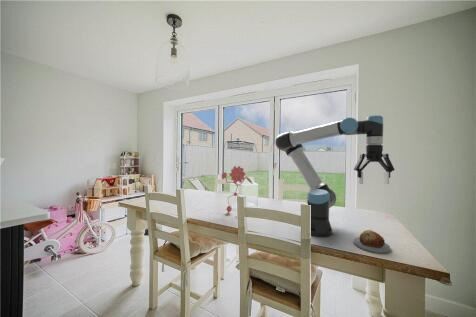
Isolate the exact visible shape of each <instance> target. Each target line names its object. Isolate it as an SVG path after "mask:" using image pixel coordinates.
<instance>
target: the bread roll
mask: <svg viewBox="0 0 476 317" xmlns="http://www.w3.org/2000/svg"><path fill="white" fill-rule="evenodd" d="M359 237H360V238H359V239H360V242H361V243H362V244H364V245H366V246H369V247H375V248H381V247H383V246H384V244H385V243H386V242H385V239H384V237H383V236H382V235H381V234H379V233H378V232H376V231H374V230H371V229H367V230H364V231H363V232H361V233H360V236H359ZM384 242H385V243H384Z"/></svg>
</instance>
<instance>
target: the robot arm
mask: <svg viewBox="0 0 476 317" xmlns="http://www.w3.org/2000/svg"><path fill="white" fill-rule="evenodd" d="M342 135H344V136H353V135H354V136H355V135H366V141H365V142H366V145H365V146H366V147H365V149H366V150H365V151H366V153H359V158H358V160H357V162H356V164H355V166H354V167H353V170H354V171H355V172H357V178H358V184H361V185H363V184H364V171H363V170H364V169H365V168H366V167H367V166H368V165H369V163H371V162H372V163H378V164H380V166H381V167H382V168H383V169H384V170H385V171H383V172H384V173H383V177H384V178H383V184H384V185H385V184H386V185H389V184H390V179H391V173H392V172H393V171H395V167H394V165H393V164H392V161H391V159H390V157H389V156H390V154H389V153H383V151H384V150H383V147H384V146H383V143H384V142H383V141H384V138H383V137H384V117H383V116H382V115H369V116H367V117H366V119H365V120H357V119H356V118H354V117H345V118H343V119H342V120H339V121H335V122H329V123H326V124H321V125H319V126H314V127H310V128H307V129H302V130H299V131H293V130H291V131H287V132H283V133H280V134H278V135H277V137H276V138H275V146H276V147H277V149H278V150H280V151H282V152H283V151H284V152H285V154H286V155H287V157H289V158H291V159H292V161H293V163H294V164H295V166H296V167H297V169H298V170H299V173H300V174H301V177H303V179H304V181H305V182H306V184H307V186H308V187H309V191H308V192H307V196H306V199H307V204H308V205H311V235H310V236H313V237H314V236H315V237H319V238H320V237H321V238H322V237H323V238H327V237H331V236H332V234H333V229H332V225H331V222H330V208H333V206H335V204H336V202H337V196H336V193H335V192H334V190H333V189H331V188H329V185H328V184H327V183H326V182H323V180H322V179H321V178H320V176H319V174H318V173H317V171H316V169H315V168H314V166H313V164H312V163H311V161H310V160H309V158H308V157H307V156H306V155H307V154H305V152H304V146H303V144H306V143H310V142H314V141H315V142H316V141H319V140H324V139H329V138H333V137H337V136H342Z"/></svg>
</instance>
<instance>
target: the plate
mask: <svg viewBox="0 0 476 317" xmlns="http://www.w3.org/2000/svg"><path fill="white" fill-rule="evenodd" d="M359 238H360V236H359V237H355V238H354V239H353V245H354V246H355V247H357V248H359V249H360V250H363V251H365V252H368V253H374V254H387V253H390V252H391V246H390V245H389V244H388V243H386V242H385V241H384V243H385V244H384V246H383V247H381V248H375V247H369V246H366V245H364V244H362V243H361V242H360V239H359Z"/></svg>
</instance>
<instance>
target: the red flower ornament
mask: <svg viewBox="0 0 476 317" xmlns="http://www.w3.org/2000/svg"><path fill="white" fill-rule="evenodd" d="M228 175H229V177H231V178H230V180H231V181H227V180H228V179H227V176H228ZM228 175H227V172H225V171H224V172H222V174H221V176H220V177H221V179H222V180H224V179H225V183H227V184H230V183H231V184H235V185H236V189H235V192H233V194H232V195H229V196H228V197H227V203H228V206H227V207H226V211H227V212H226V215H227V216H228V214H229V213H230V212H231V211H233V208H232V206H231V205H230V203H229V201H230V200H229V198H231V197H233V196H234V197H238V196H239V195H238V193H237V190H238V186H241V185H242V184H243V183H244V181H245V180H247V181H248V182H249V183H250V184H252V185H253V181H252V180H251V179H250V178H249V177H248V176H246V172H244V167H241V165H239V166H236V165H234V166H233V168H231V169H230V173H229V174H228ZM239 183H240V184H239ZM235 211H237V209H236V210H235Z"/></svg>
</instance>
